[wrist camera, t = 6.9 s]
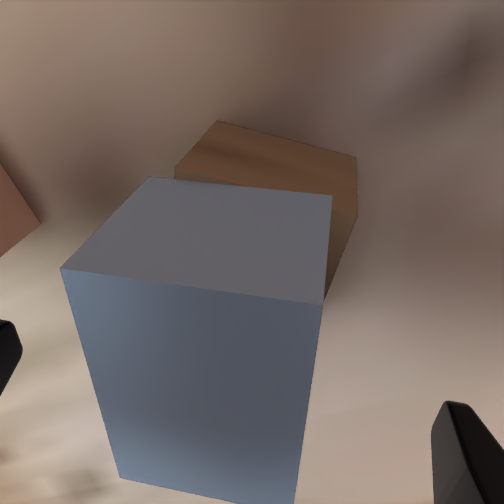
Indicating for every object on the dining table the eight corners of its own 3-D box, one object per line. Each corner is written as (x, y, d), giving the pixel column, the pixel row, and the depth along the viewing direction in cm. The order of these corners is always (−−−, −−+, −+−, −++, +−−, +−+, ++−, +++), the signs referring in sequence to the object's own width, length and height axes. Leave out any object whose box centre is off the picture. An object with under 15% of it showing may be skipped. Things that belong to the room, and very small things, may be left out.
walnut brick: (300, 311, 15) (288, 390, 12) (193, 280, 15) (157, 352, 13) (356, 156, 12) (357, 216, 9) (217, 119, 12) (175, 166, 9)
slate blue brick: (306, 386, 12) (291, 514, 9) (172, 363, 13) (120, 478, 10) (332, 195, 9) (323, 305, 6) (148, 176, 9) (59, 268, 7)
